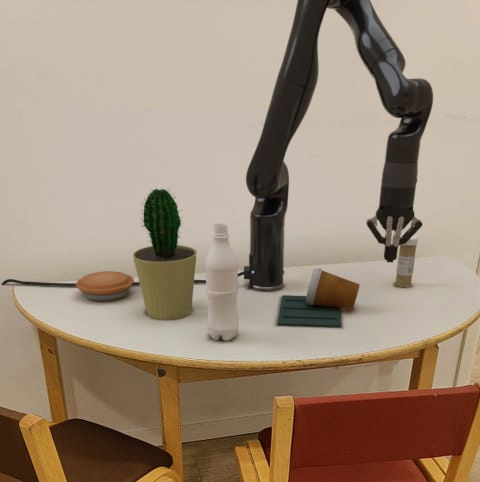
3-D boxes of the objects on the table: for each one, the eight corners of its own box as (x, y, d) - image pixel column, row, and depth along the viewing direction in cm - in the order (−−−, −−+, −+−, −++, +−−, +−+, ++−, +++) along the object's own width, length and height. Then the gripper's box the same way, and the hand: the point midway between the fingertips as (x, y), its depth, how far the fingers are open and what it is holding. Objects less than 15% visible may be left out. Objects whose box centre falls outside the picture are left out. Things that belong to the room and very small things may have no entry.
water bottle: (207, 331, 141) (202, 221, 128) (237, 330, 141) (236, 220, 128) (208, 343, 135) (203, 229, 121) (240, 342, 135) (239, 228, 122)
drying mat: (277, 325, 143) (277, 321, 143) (282, 297, 160) (282, 294, 160) (340, 327, 142) (341, 324, 141) (338, 298, 159) (339, 295, 158)
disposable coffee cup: (358, 286, 155) (313, 275, 156) (363, 271, 146) (315, 260, 147) (349, 320, 154) (304, 309, 155) (354, 308, 144) (305, 296, 146)
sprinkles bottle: (405, 281, 170) (411, 233, 163) (414, 286, 167) (421, 237, 160) (391, 283, 169) (397, 235, 162) (400, 288, 165) (407, 239, 158)
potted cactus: (211, 307, 154) (207, 183, 138) (173, 327, 143) (163, 195, 127) (165, 296, 161) (156, 178, 146) (126, 314, 151) (111, 188, 135)
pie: (65, 300, 160) (62, 281, 157) (98, 282, 172) (96, 265, 170) (115, 307, 155) (113, 288, 152) (145, 288, 167) (143, 271, 165)
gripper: (427, 180, 134) (416, 257, 143) (367, 180, 136) (360, 256, 145) (432, 186, 128) (420, 266, 137) (369, 186, 130) (361, 265, 139)
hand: (389, 261), depth 141 cm, fingers closed
